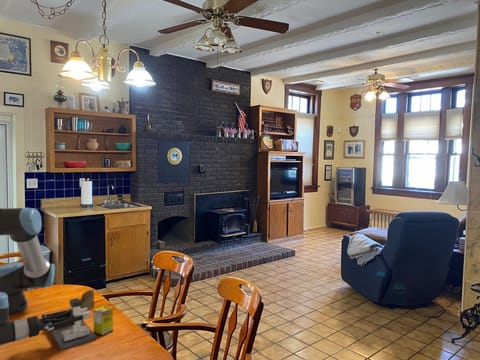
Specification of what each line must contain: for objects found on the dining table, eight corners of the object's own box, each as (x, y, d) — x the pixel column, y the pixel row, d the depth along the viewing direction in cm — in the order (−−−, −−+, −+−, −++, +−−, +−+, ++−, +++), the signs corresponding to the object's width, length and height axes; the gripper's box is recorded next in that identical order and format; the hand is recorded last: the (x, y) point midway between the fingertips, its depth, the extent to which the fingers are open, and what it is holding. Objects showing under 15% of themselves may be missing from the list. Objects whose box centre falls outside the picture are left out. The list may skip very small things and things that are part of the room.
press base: (47, 328, 164) (46, 317, 164) (79, 320, 173) (79, 309, 173) (60, 350, 146) (60, 338, 146) (95, 339, 155) (95, 328, 155)
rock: (76, 311, 178) (97, 304, 183) (72, 294, 181) (93, 288, 187) (75, 317, 186) (95, 310, 191) (71, 301, 189) (91, 295, 195)
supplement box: (113, 331, 163) (113, 307, 162) (102, 336, 157) (102, 312, 157) (104, 328, 166) (104, 304, 165) (93, 333, 160) (93, 309, 160)
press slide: (61, 337, 152) (60, 301, 151) (86, 330, 158) (85, 295, 158) (64, 341, 148) (64, 305, 147) (89, 334, 155) (89, 299, 154)
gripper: (23, 329, 148) (82, 314, 163) (31, 346, 135) (95, 328, 150) (22, 311, 148) (82, 298, 163) (30, 326, 135) (95, 310, 149)
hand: (88, 312), depth 156 cm, fingers closed on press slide, 4 cm apart
